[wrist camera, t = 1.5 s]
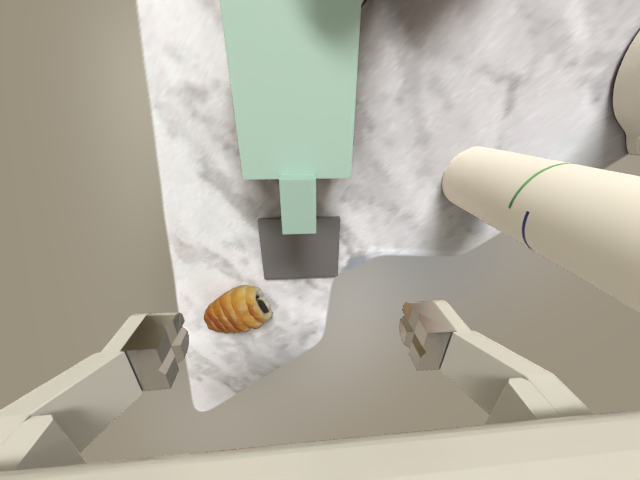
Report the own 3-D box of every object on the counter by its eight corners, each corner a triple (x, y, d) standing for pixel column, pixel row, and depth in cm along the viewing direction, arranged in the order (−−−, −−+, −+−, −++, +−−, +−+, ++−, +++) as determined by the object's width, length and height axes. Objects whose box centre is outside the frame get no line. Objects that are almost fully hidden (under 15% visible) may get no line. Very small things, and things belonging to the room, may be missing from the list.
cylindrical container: (440, 209, 33) (745, 418, 10) (444, 152, 29) (901, 277, 7) (494, 200, 33) (916, 389, 10) (504, 141, 29) (1151, 233, 7)
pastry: (222, 331, 39) (214, 351, 36) (196, 300, 36) (185, 319, 33) (276, 310, 38) (274, 329, 35) (254, 276, 35) (250, 293, 32)
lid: (359, -3, 18) (370, -22, 15) (346, 219, 26) (352, 232, 23) (221, -8, 17) (207, -30, 15) (250, 222, 25) (244, 235, 22)
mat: (339, 216, 32) (340, 218, 31) (336, 273, 36) (337, 276, 35) (258, 218, 31) (258, 220, 31) (265, 276, 35) (264, 279, 35)
